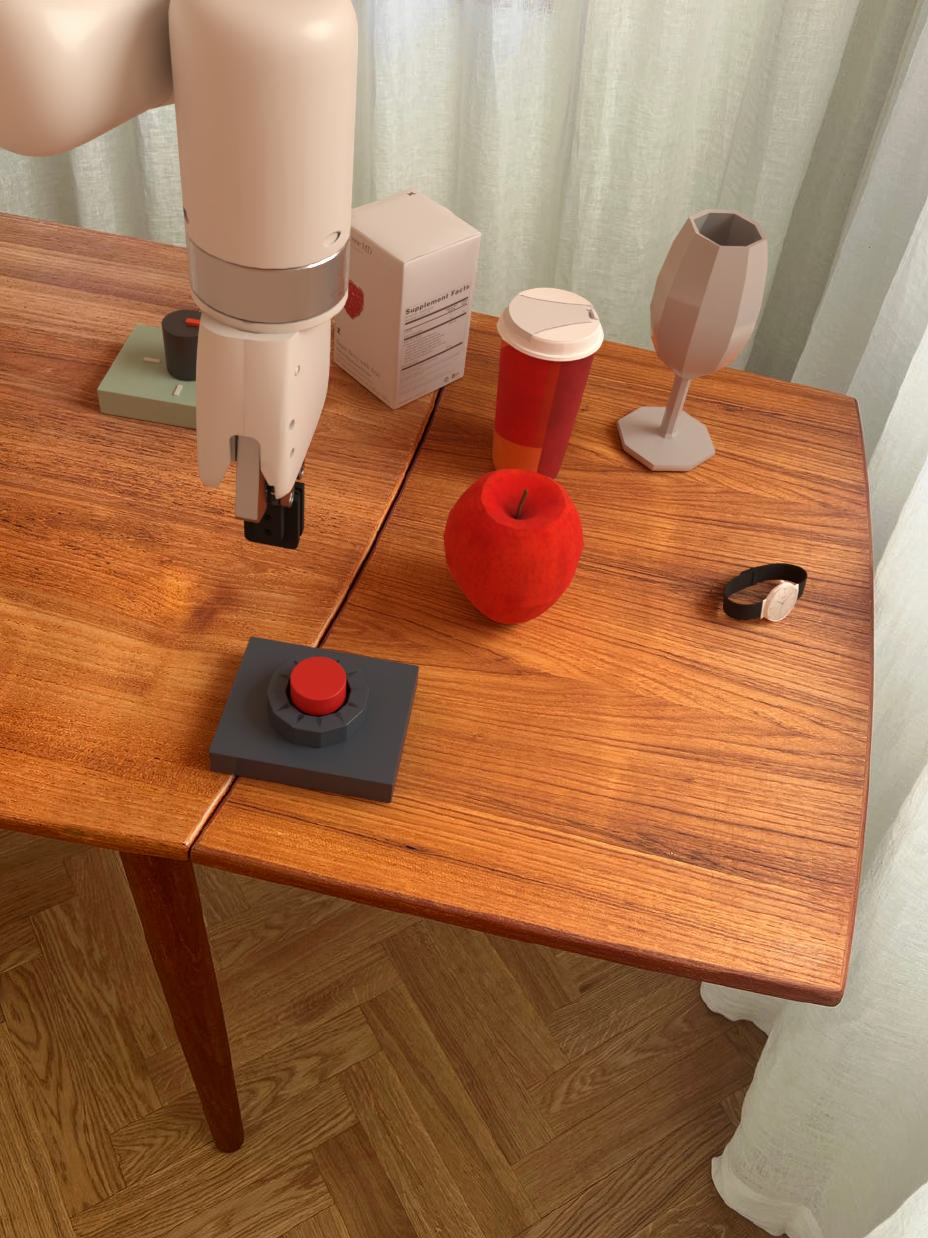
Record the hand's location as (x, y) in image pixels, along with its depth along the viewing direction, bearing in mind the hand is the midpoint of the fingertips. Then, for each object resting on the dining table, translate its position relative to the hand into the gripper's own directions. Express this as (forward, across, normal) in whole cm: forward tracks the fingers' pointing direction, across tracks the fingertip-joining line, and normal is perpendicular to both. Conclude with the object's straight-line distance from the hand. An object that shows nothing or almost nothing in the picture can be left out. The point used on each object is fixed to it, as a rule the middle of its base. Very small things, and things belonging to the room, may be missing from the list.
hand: (274, 535), depth 66 cm
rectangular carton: (+16, -39, +1) cm, 42 cm away
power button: (+11, +2, +3) cm, 12 cm away
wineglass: (+15, -35, +26) cm, 46 cm away
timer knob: (+13, -31, -16) cm, 37 cm away
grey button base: (+15, +2, +4) cm, 16 cm away
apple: (+15, -12, +14) cm, 24 cm away
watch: (+15, -17, +34) cm, 41 cm away
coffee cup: (+15, -29, +14) cm, 35 cm away
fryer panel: (+16, -30, -16) cm, 38 cm away
